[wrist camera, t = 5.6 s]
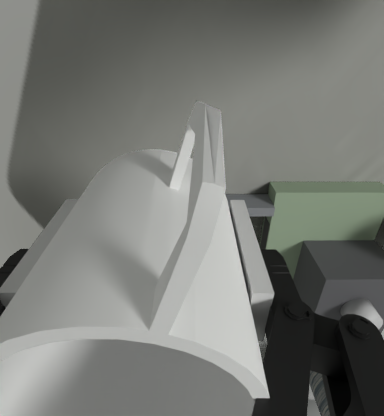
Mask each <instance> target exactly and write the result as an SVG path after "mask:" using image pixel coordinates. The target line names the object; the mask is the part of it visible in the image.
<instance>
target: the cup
mask: <svg viewBox="0 0 384 416" xmlns="http://www.w3.org/2000/svg"><path fill="white" fill-rule="evenodd" d="M193 146H194V152H193V159H192V158H190V155H191V152H192V149H193ZM225 190H226V181H225V165H224V150H223V135H222V119H221V110H219V109H217V108H215V107H212V106H210V105H208V104H205V103H203V102H200V101H196V102H195V105H194V107H193V109H192V112H191V114H190V116H189V119H188V122H187V125H186V128H185V132H184V135H183V138H182V141H181V144H180V147H179V150H178V153H176V152H172V151H167V150H160V149H144V150H139V151H133V152H129V153H126V154H124V155H121V156H119V157H116V158H115V159H113V160H112V161H110V162H109V163H107V164H106V165H104V166H103V167H102V168H101V169H100V170H99V171H98V172H97V174H96V175H95V176H94V177H93V179H92V180H91V182H90V183H89V185H88V186H87V188H86V189H85V191H84V192H83V194H82V195H81V197H80V198H79V200H78V201H77V203H76V204H75V206H74V207H73V209H72V210H71V212H70V213H69V215H68V216H67V218H66V219H65V221H64V222H63V224H62V225H61V227H60V228H59V230H58V231H57V233H56V234H55V236H54V237H53V239H52V240H51V242H50V243H49V244H48V246H47V247H46V249H45V250H44V252H43V253H42V255H41V256H40V258H39V259H38V261H37V262H36V264H35V265H34V267H33V268H32V270H31V271H30V273H29V274H28V276H27V277H26V279H25V280H24V282H23V283H22V285H21V286H20V288H19V289H18V291H17V292H16V294H15V295H14V297H13V298H12V300H11V301H10V303H9V304H8V306H7V307H6V309H5V310H4V312H3V313H2V315H1V316H0V416H251V415H252V411H253V407H254V404H255V401H256V398H270V397H269V392H268V387H267V383H266V378H265V373H264V369H263V362H262V357H261V352H260V348H259V343H258V339H257V334H256V329H255V325H254V320H253V316H252V311H251V306H250V302H249V297H248V292H247V288H246V283H245V279H244V274H243V269H242V265H241V260H240V256H239V251H238V246H237V242H236V237H235V233H234V228H233V223H232V219H231V214H230V210H229V205H228V201H227V198H226V195H225Z"/></svg>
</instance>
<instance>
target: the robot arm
mask: <svg viewBox="0 0 384 416" xmlns="http://www.w3.org/2000/svg"><path fill="white" fill-rule="evenodd" d="M78 200H79V199H66V200H65V202H64V203H63V204H62V206H61V207H60V208H59V210H58V211H57V212H56V214H55V215H54V216H53V218H52V219H51V220H50V222H49V223H48V224H47V226H46V227H45V228H44V230H43V231H42V232H41V234H40V235H39V236H38V238H37V239H36V241H35V242H34V243H33V245H32V246H31V247H30V249H20V250H19V251H17V252H16V253H14V254H13V255H12V256H10V257H9V258H8V260H7V261H6V262H5V263H4V265H3V267H1V268H0V316H1V315H2V313H3V312H4V310H5V309H6V307H7V306H8V304H9V303H10V301H11V300H12V298H13V297H14V295H15V294H16V292H17V291H18V289H19V288H20V286H21V285H22V283H23V282H24V280H25V279H26V277H27V276H28V274H29V273H30V271H31V270H32V268H33V267H34V265H35V264H36V262H37V261H38V259H39V258H40V256H41V255H42V253H43V252H44V250H45V249H46V247H47V246H48V244H49V243H50V242H51V240H52V239H53V237H54V236H55V234H56V233H57V231H58V230H59V228H60V227H61V225H62V224H63V222H64V221H65V219H66V218H67V216H68V215H69V213H70V212H71V210H72V209H73V207H74V206H75V204H76V203H77V201H78ZM230 214H231V219H232V223H233V228H234V233H235V237H236V242H237V246H238V251H239V256H240V260H241V265H242V269H243V274H244V279H245V283H246V288H247V292H248V297H249V302H250V306H251V311H252V316H253V320H254V325H255V329H256V334H257V339H258V341H263V340H264V336H265V333H266V337H267V341H268V345H267V349H266V353H265V357H264V362H263V369H264V373H265V378H266V383H267V387H268V392H269V397H270V398H256V401H255V404H254V407H253V411H252V415H251V416H307V406H308V394H309V382H310V370H311V371H314V372H317V373H320V374H322V379H323V384H324V389H325V393H326V398H327V403H328V408H329V413H330V416H384V340H383V337H382V335H381V333H380V331H379V330H378V328H377V327H376V326H375V325H374V324H373V323H372V322H371V321H370V320H368V319H366V318H364V317H363V316H360V315H356V314H346V315H344V316H342V317H341V318H340V320H335V319H331V318H328V317H324V316H321V315H318V314H316V313H314V312H313V311H312V309H311V308H310V307H309V306H308V305H307V304H306V303H304V302H302V300H301V298H300V296H299V293H298V291H297V288H296V286H295V284H294V281H293V279H292V276H291V274H290V272H289V269H288V267H287V264H286V262H285V260H284V257H283V256H282V255H281V254H280V253H279V252H278V251H277V250H276V249H260V247H259V244H258V241H257V238H256V235H255V232H254V229H253V226H252V222H251V219H250V216H249V213H248V210H247V207H246V204H245V201H244V200H230Z"/></svg>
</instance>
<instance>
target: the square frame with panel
mask: <svg viewBox="0 0 384 416" xmlns="http://www.w3.org/2000/svg"><path fill="white" fill-rule="evenodd" d="M225 195H226V198H227V201H228V205H229V210H230V200H244V201H245V204H246V207H247V210H248V213H249V216H264V221H263V227H262V233H261V239H260V245H259V247H260V249H276V250H277V251H278V252H279V253H280V254H281V255H282V256H283V257H284V260H285V262H286V264H287V267H288V269H289V272H290V274H291V276H292V279H293V281H294V284H295V286H296V288H297V291H298V293H299V296H300V298H301V300H302V302H304V303H306V304H307V305H308V306H309V307H310V308H311V309H312V311H313V312H314V313H316V314H318V315H321V316H324V317H328V318H331V319H335V320H340V318H341V317H342V316H344V315H346V314H356V315H360V316H363V317H364V318H366V319H368V320H370V321H371V322H372V323H373V324H374V325H375V326H376V327H377V328H378V330H379V331H380V333H381V332H382V331H383V329H384V250H383V249H382V248H381V247H380V246H379V245H378V244H377V243H376V242H375V241H374V240H375V237H376V235H377V232H378V230H379V228H380V225H381V223H382V220H383V218H384V185H383V184H382V183H380V182H270V184H269V190H268V194H225Z"/></svg>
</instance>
